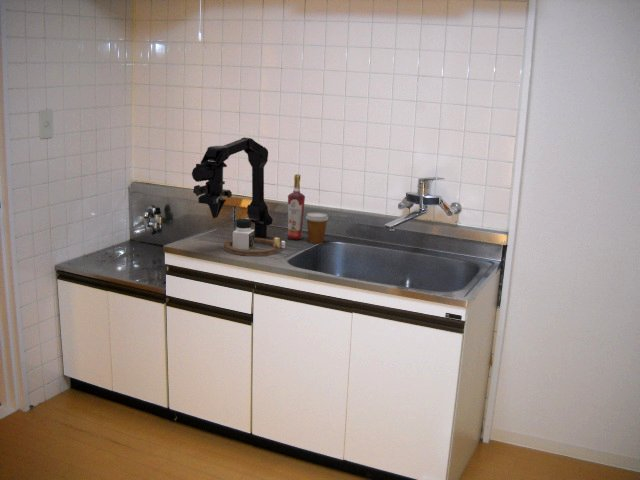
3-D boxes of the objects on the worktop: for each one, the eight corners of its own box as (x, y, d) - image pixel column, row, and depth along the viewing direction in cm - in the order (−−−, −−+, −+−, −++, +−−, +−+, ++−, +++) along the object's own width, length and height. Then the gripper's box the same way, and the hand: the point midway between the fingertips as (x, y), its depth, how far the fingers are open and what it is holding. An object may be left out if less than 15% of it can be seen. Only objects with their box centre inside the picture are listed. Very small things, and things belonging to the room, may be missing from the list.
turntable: (237, 238, 310) (237, 226, 309) (288, 245, 304) (289, 232, 303) (214, 251, 289) (214, 237, 288) (268, 258, 283) (269, 244, 281)
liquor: (284, 239, 313) (287, 175, 306) (288, 235, 320) (290, 173, 313) (301, 241, 312) (304, 176, 305) (304, 237, 319) (307, 174, 312)
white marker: (282, 248, 299) (282, 242, 299) (280, 246, 301) (281, 240, 301) (285, 248, 300) (285, 242, 299) (283, 246, 302) (283, 240, 301)
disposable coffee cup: (328, 244, 309) (330, 217, 306) (306, 244, 307) (307, 216, 304) (324, 239, 318) (326, 212, 315) (303, 239, 316) (304, 212, 313)
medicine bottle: (249, 250, 294) (249, 221, 291) (232, 248, 295) (232, 219, 292) (254, 246, 300) (254, 217, 297) (237, 244, 302) (238, 216, 299)
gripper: (207, 173, 297) (207, 211, 300) (186, 180, 279) (185, 220, 283) (232, 176, 293) (231, 214, 297) (212, 183, 276) (212, 223, 280)
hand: (215, 217), depth 289 cm, fingers closed
